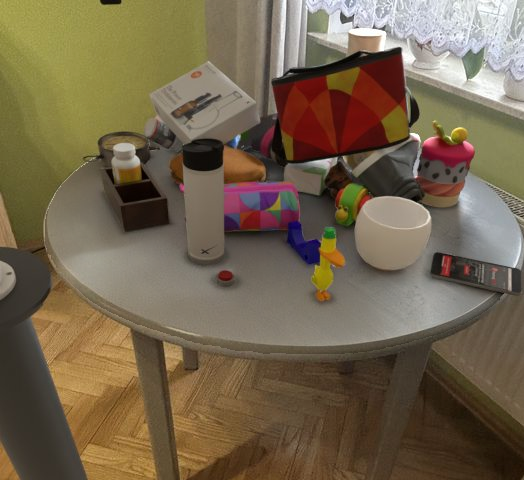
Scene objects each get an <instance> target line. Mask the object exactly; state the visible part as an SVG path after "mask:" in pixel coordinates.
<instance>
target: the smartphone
mask: <svg viewBox="0 0 524 480" xmlns="http://www.w3.org/2000/svg"><path fill="white" fill-rule="evenodd" d="M454 255H455V254H450V253H445V252H440V251H435V252H434V253H433V255H432V260H431V266H430V269H429V270H430V271H429V276H430V277H431V278H434V279H437V280H442V281H447V282H452V283H456V284H460V285H464V286H469V287H474V288H478V289H484V290H488V291H493V292H497V293H501V294H507V295H511V296H516V297H518V296H521V295H522V294H523V287H522V286H523V281H522V280H523V279H522V278H523V277H522V269H520V268H516V267H513V266H507V265H503V264H498V263H494V262H488V261H483V260H480V259H479V260H478V259H474V258H469V257H464V256H459V255H455V256H454Z"/></svg>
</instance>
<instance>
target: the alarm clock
mask: <svg viewBox="0 0 524 480" xmlns="http://www.w3.org/2000/svg"><path fill="white" fill-rule="evenodd" d="M120 143H130V144H133V145H134V146H135V151H136V153H135V155H136V156H137V157H138V158H139V160H140V163H141V162H143V164H144V165H145V166H146V165H147V164H148V163H149V161H150V160H151V151H160V150H161V147H159V146H158V147H155V146H151V145H150V140H149V139H148V138H147V137H145V136H144V134H142V133H139V132H134V131H124V130H123V131H114V132H109V133H107V134H104V135H102V136H101V137H99V138H98V140H97V146H98V147H97V148H98V152H99V153H98V154H96V155H86V156H83V158H82V160H83V161H84V162H87V163H95V162H99V160H100V161H101V163H102V164H103V165H105V166H106V167H112V163H111V161H112V159H113V157H114V156H115V155H114V152H113V146H114V145H116V144H120ZM87 158H95V160H88V159H87Z"/></svg>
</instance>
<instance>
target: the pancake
mask: <svg viewBox="0 0 524 480" xmlns="http://www.w3.org/2000/svg"><path fill="white" fill-rule="evenodd" d="M236 148H237V147H235V148H233V147H229V146H225V145H224V150H223V163H224V166H223V168H224V184H231V183H240V182H264V181H265V180H266V178H267V168H266V166H265V164H264V162H263V161H262V160H261V159H259V158H258V157H256V156H255V155H253V154H252V153H249V152H248V151H247V152H246V151H244V150H240V149H236ZM168 168H169V170H170V175H171V178H172V179H173V182H174V183H175V184H178V185H179V186H180V183H181V184H182V185H183V186H184V179H183V157H182V152H180V153H178V154H177V155H175V156H174V157H172V158H171V159H170V160H169V163H168Z"/></svg>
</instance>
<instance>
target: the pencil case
mask: <svg viewBox="0 0 524 480" xmlns="http://www.w3.org/2000/svg"><path fill="white" fill-rule="evenodd" d="M179 190H180V192H181V194H182V195H184V196H185V194H184V186H183V185H182V184H181V183H180V185H179ZM298 192H299V191H297V189H296V188H295V187H294V183H293V181H287V182H284V181H267V182H264V181H263V182H240V183H231V184H224V233H231V232H264V231H265V232H266V231H268V232H269V231H288V223H291V222H295V221H299V222H300V217H301V216H300V215H301V207H300V202H299V200H300V199H299V193H298ZM184 221H185V222H186V217H185V218H184Z"/></svg>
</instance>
